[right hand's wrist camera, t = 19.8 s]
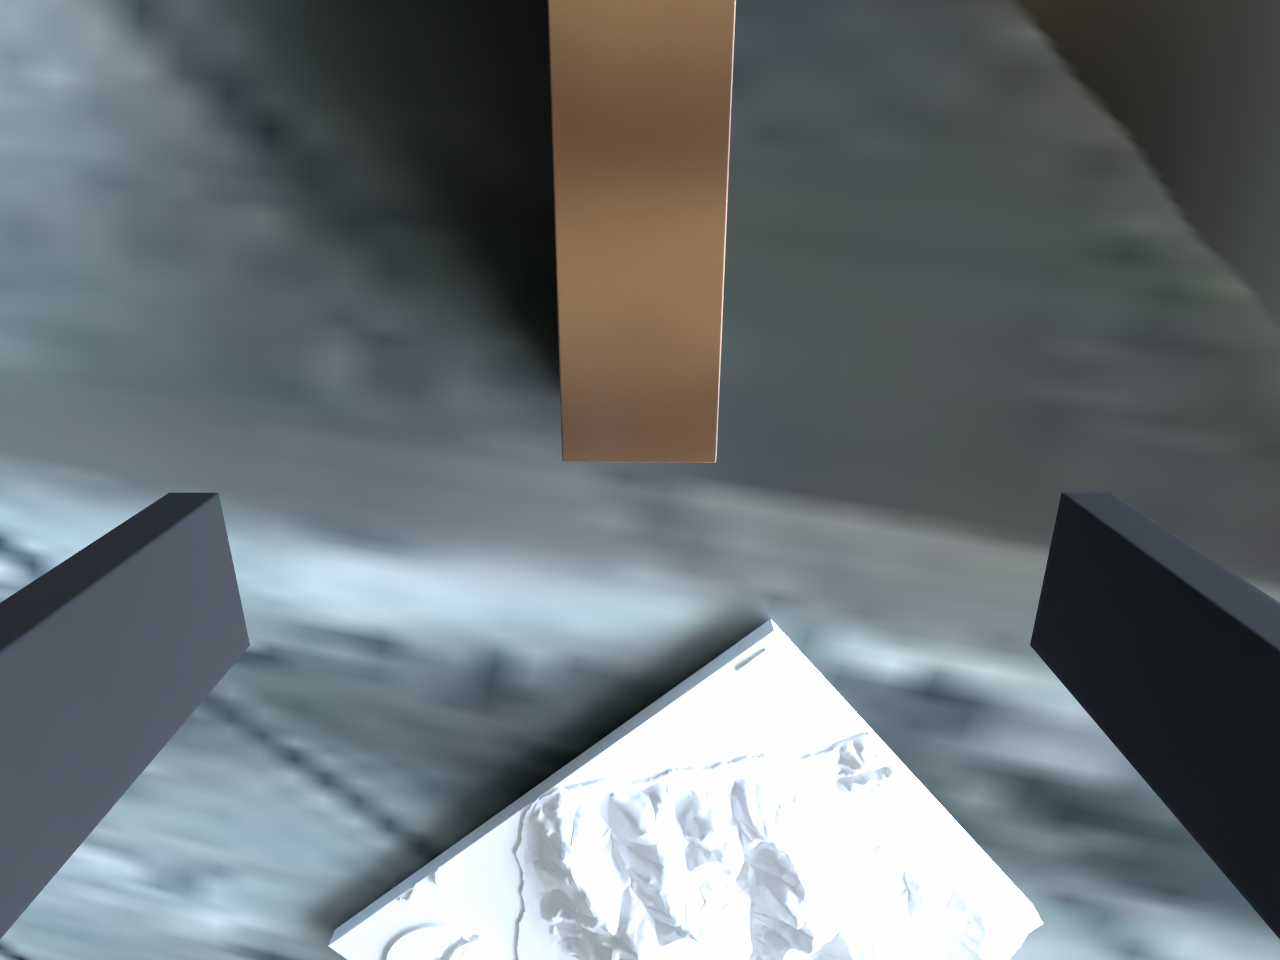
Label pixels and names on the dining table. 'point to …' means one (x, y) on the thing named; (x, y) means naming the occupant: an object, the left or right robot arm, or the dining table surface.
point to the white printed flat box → (713, 844)
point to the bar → (640, 223)
